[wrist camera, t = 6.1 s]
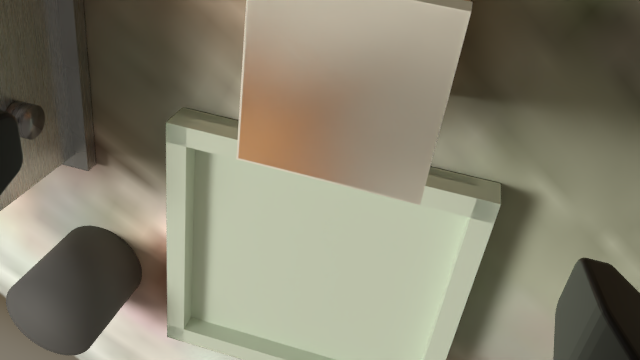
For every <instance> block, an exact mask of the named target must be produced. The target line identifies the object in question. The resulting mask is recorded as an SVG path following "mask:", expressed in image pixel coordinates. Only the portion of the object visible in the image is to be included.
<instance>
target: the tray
mask: <svg viewBox="0 0 640 360" xmlns="http://www.w3.org/2000/svg"><path fill="white" fill-rule="evenodd" d="M238 124H239V121H237V120H233V119H229V118H225V117H221V116H217V115H212V114H208V113H204V112H200V111H196V110H192V109H187V108H182V109H181V110H179V111H178V112H177V113H176V114H175V115H174V116H173V117H171V118H170V119H169V120H168V121H167V122H166V218H167V337H169V338H173V339H176V340H179V341H183V342H186V343H189V344H192V345H196V346H199V347H202V348H206V349H209V350H212V351H216V352H219V353H222V354H226V355H229V356H232V357H236V358H239V359H242V360H446V358H447V355H448V353H449V350H450V347H451V344H452V341H453V338H454V336H455V333H456V330H457V327H458V324H459V321H460V319H461V316H462V313H463V310H464V307H465V305H466V302H467V299H468V296H469V293H470V290H471V288H472V285H473V282H474V279H475V276H476V273H477V271H478V268H479V265H480V262H481V259H482V257H483V254H484V251H485V248H486V245H487V242H488V240H489V237H490V234H491V231H492V228H493V225H494V223H495V220H496V217H497V214H498V211H499V209H500V206H501V184H500V183H496V182H492V181H488V180H484V179H480V178H475V177H471V176H467V175H463V174H459V173H455V172H450V171H446V170H442V169H438V168H434V167H430V169H429V173H428V177H427V181H426V185H425V188H424V192H423V196H422V200H421V203H420V205H417V204H413V203H409V202H405V201H401V200H397V199H393V198H389V197H385V196H381V195H377V194H373V193H369V192H365V191H361V190H357V189H353V188H349V187H345V186H341V185H337V184H333V183H329V182H325V181H321V180H317V179H313V178H309V177H305V176H301V175H297V174H293V173H289V172H285V171H281V170H277V169H273V168H269V167H265V166H261V165H257V164H253V163H249V162H245V161H241V160H237V159H236V156H237V140H238Z"/></svg>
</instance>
